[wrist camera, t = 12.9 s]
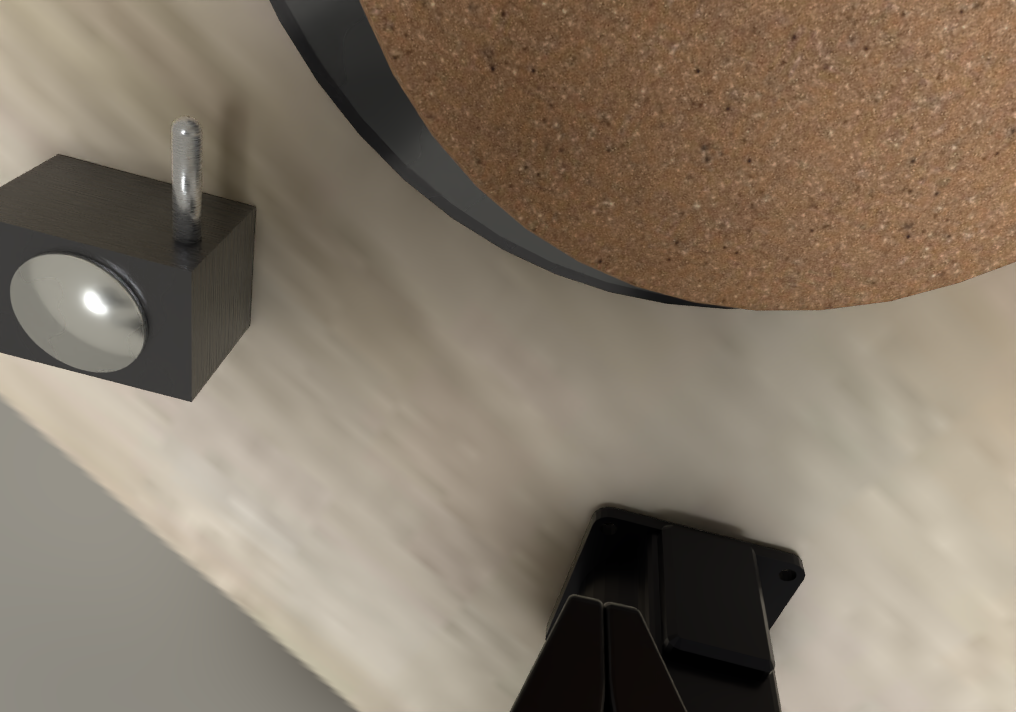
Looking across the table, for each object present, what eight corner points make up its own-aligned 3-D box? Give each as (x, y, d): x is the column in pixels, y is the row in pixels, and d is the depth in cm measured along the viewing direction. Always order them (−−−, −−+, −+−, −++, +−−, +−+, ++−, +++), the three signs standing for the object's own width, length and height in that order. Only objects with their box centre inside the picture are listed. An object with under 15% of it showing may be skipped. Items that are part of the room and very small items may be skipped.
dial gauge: (249, 325, 22) (187, 407, 19) (70, 278, 22) (-22, 352, 18) (261, 95, 18) (186, 149, 15) (45, 38, 18) (-74, 80, 15)
